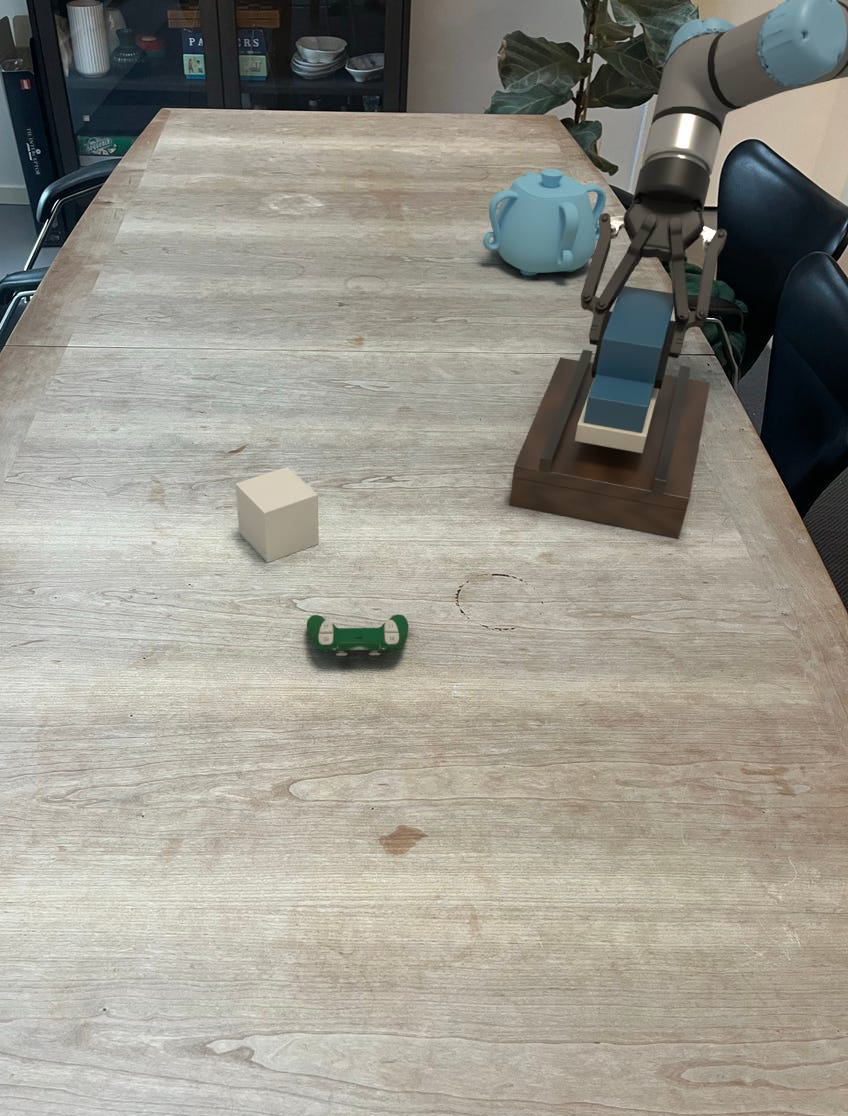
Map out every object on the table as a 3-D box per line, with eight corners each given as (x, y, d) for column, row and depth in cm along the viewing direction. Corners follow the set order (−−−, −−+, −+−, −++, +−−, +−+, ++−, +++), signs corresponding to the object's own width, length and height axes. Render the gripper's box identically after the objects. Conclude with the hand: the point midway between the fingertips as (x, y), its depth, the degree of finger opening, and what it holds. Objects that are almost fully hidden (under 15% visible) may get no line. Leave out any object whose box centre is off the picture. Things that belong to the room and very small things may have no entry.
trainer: (604, 357, 122) (618, 282, 116) (664, 367, 120) (681, 292, 114) (574, 441, 107) (588, 361, 101) (642, 453, 106) (660, 373, 100)
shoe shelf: (700, 419, 126) (713, 370, 121) (678, 538, 107) (693, 486, 103) (554, 394, 130) (561, 345, 125) (508, 505, 111) (515, 452, 107)
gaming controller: (307, 656, 95) (305, 654, 89) (307, 615, 96) (305, 611, 90) (406, 655, 96) (412, 653, 90) (406, 614, 96) (411, 610, 90)
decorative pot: (467, 265, 160) (475, 173, 151) (520, 234, 170) (530, 146, 160) (560, 293, 153) (574, 198, 144) (610, 259, 162) (626, 168, 153)
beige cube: (267, 563, 103) (264, 513, 99) (239, 532, 107) (234, 483, 103) (319, 543, 105) (318, 494, 101) (289, 515, 109) (287, 466, 105)
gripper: (761, 200, 113) (713, 405, 112) (587, 179, 117) (540, 375, 116) (773, 164, 106) (721, 382, 105) (587, 142, 110) (537, 352, 109)
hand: (626, 378), depth 111 cm, fingers closed on trainer, 6 cm apart
